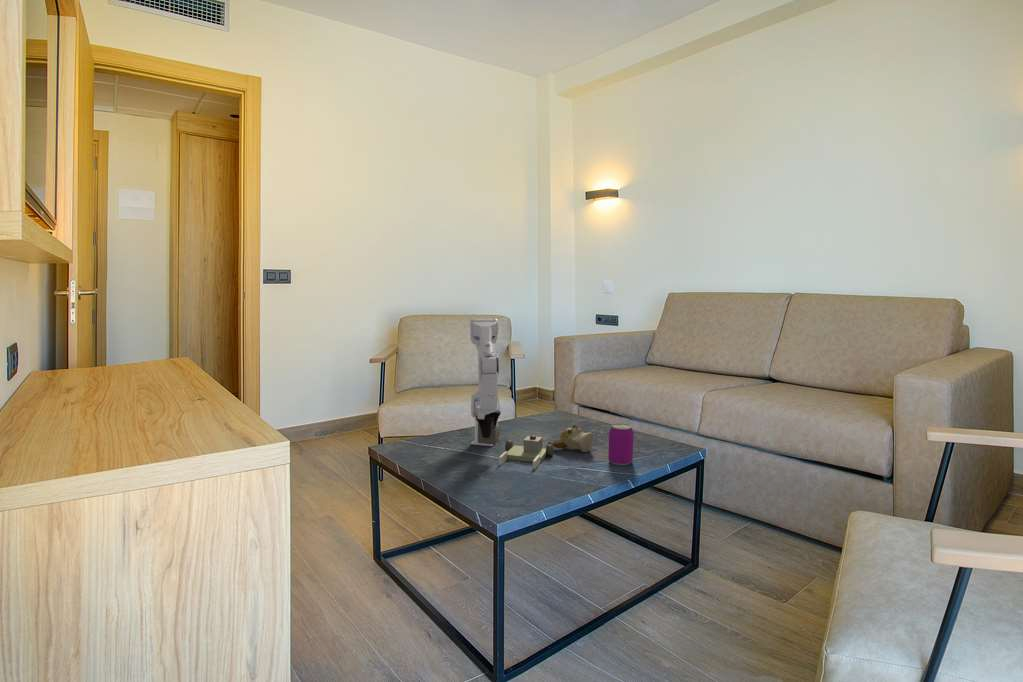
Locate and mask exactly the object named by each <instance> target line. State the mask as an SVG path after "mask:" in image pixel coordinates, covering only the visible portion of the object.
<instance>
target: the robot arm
mask: <svg viewBox="0 0 1023 682" xmlns="http://www.w3.org/2000/svg"><path fill="white" fill-rule="evenodd" d="M469 334H470V343H471V344H473V345H475V347H476V351H477V369H478V370H477V371H478V374H477V375H478V380H477V381H478V390H477V391H476V392H475V391H474V393H473V394H472V395H471V399H470V415H471V417H472V418H474V440H473V441H471V442H470V445H474V446H482V447H483V446H485V447H493V446H494V445H493V444H484V443H478V423H479V425H480V428H481V432H482V436H483V438H489V437H490V432H491V425H492V422H493V421H494V426H499V417H500V416H501V415H502V414H501V413H502V411H500V399H499V398H500V397H499V394H498V389H499V388H498V385H499V383H498V382H499V381H498V380H499V376H498V375H499V373H500V360H499V356H498V354H497V350H496V346H495V344H496V343H497V340H498V335H499V320H498V319H497V318H496V317H495V318H470V320H469Z"/></svg>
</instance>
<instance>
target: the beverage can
mask: <svg viewBox="0 0 1023 682" xmlns="http://www.w3.org/2000/svg"><path fill="white" fill-rule="evenodd" d="M610 426H611V427H610V428H609V432H608V457H607V459H608V460H609V462H610V463H611V464H613V465H616V466H627V465H628V466H629V465H630V464H631V463H632V462H633V459H634V436H635V433H634V430H633V427H632V425H631V424H628V423H623V422H615V423H611V425H610Z"/></svg>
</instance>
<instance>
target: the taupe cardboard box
mask: <svg viewBox="0 0 1023 682" xmlns="http://www.w3.org/2000/svg"><path fill="white" fill-rule="evenodd" d="M500 429H501V427H500V425H498V426H494V421H493V422H492V425H491V432H490V437H489V438H483V436H482V432H481V428H480V425H479V423H478V443H484V444H493V446H494V445H495V446H496V445H497V444H498V443H499V442H500V441H501V437H500V436H501V435H500V434H501V433H500V432H501V431H500Z"/></svg>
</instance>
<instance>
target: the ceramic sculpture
mask: <svg viewBox="0 0 1023 682" xmlns="http://www.w3.org/2000/svg"><path fill="white" fill-rule="evenodd" d="M593 443H594V432H593V431H590V432H584V431H583V430H582V429H581V428H580V426H578V425H573V426H572V428H571V427H568V428H566V429H564V430H562V432H561V434H560V439H558V440H557V439H556V440H554V441H548V442H547V444H549V445H553V446H554V448H556V449H566V450H570V451H571V450H573V451H575V450H580V451H581V452H582V453H588V452H589V451H590V449H591V447H592V444H593Z"/></svg>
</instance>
